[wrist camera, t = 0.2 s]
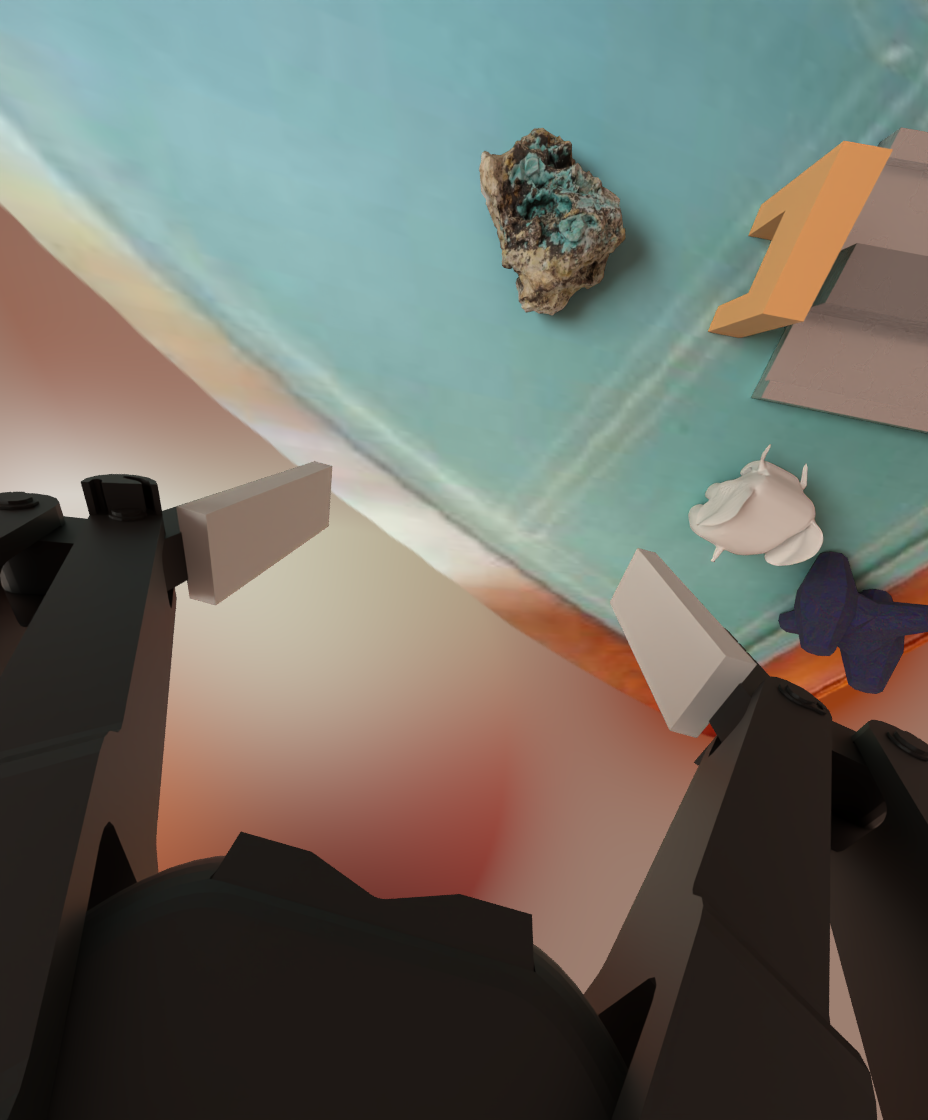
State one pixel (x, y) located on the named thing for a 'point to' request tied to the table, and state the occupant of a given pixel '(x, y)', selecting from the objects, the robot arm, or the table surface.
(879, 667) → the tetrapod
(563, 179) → the mineral specimen
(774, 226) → the clip
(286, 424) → the table surface
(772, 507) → the elephant figurine
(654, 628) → the robot arm
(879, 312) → the rail
